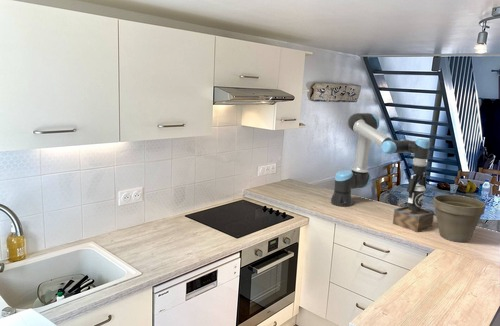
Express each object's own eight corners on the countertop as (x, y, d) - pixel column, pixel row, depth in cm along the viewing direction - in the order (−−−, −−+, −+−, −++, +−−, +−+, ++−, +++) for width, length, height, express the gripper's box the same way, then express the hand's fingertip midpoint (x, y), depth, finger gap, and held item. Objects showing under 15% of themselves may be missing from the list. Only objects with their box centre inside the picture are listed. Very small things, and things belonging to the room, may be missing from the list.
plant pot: (421, 235, 203) (425, 198, 199) (439, 225, 219) (444, 191, 215) (469, 250, 185) (476, 210, 180) (486, 239, 200) (492, 202, 196)
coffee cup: (419, 207, 221) (422, 184, 218) (425, 212, 212) (428, 188, 209) (403, 206, 222) (406, 183, 219) (408, 211, 212) (411, 187, 209)
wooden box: (392, 223, 220) (394, 209, 219) (407, 219, 229) (409, 205, 228) (417, 232, 208) (419, 217, 206) (432, 227, 217) (434, 212, 215)
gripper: (415, 168, 202) (410, 206, 206) (435, 164, 215) (430, 200, 219) (403, 165, 208) (398, 202, 212) (423, 162, 221) (419, 197, 225)
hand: (415, 201), depth 216 cm, fingers closed on coffee cup, 9 cm apart
